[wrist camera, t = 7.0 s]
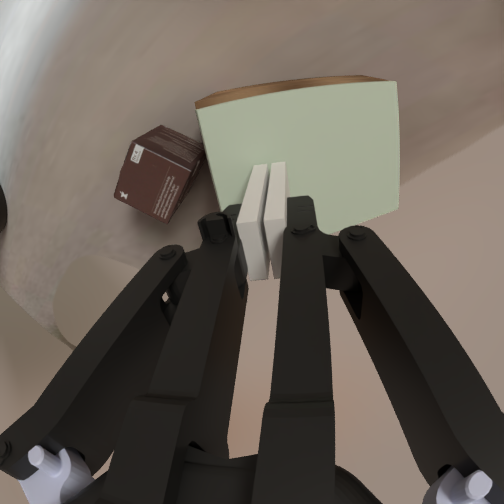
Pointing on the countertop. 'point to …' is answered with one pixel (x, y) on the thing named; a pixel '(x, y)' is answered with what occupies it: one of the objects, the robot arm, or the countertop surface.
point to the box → (159, 172)
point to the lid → (311, 147)
